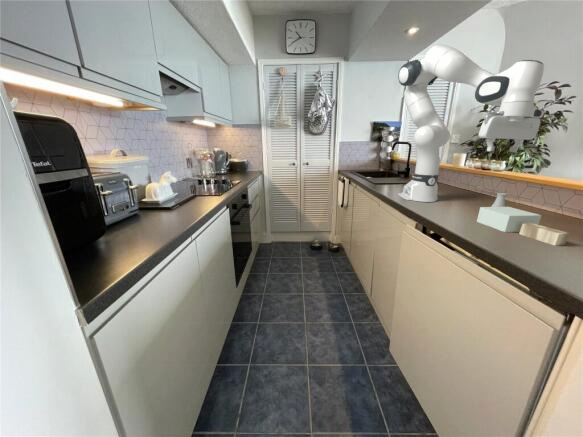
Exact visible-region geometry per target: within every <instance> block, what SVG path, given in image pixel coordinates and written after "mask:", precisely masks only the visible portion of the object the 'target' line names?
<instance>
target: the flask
mask: <svg viewBox="0 0 583 437" xmlns="http://www.w3.org/2000/svg"><path fill="white" fill-rule="evenodd" d="M496 195H497V196H496V198H495V200H494V202H493V204H491V206H490V207H506V205H505V203H506V196H507V195H508V193H506V192H505V193H504V192H497V193H496Z"/></svg>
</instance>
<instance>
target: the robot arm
mask: <svg viewBox="0 0 583 437" xmlns="http://www.w3.org/2000/svg"><path fill="white" fill-rule="evenodd" d="M544 69H545V64H544V63H543V62H541V61H540V60H533V59H524V60H518V61H517V62H515V63H514V64H512V65H511V66H510V67H508V68H507V69H505V70H503V71H501V72H499V73H496V74H494V73H492V72H490V71H488V70H486V69H484V68H482V67H481V66H480V65H478V64H477V63H476V62H474V61H473V60H472V59H470V58H469V57H468V56H467V55H466V54H465V53H464V52H462V51H460V50H459V49H457V48H454V47H452V46H449V45H446V44H435V45H433V46H432V47H430V48H429V49H428V50H427V52H426V53H425V56H424V57H422V58H420V59H414V60H411V61H407V62H405V64H402V66H400V68H399V71H398V76H397V79H398V82H399V84H400V85H401V86H403V87H406V88H405V89H404V93H403V97H404V102H405V105H406V109H407V111H408V114H409V115H410V119H411V121H412V123H413V125H414V126H416V127H417V130H416V131H415V132H414V134H413V141H414V143H415V148H416V149H415V150H416V162H415V168H414V170H415V171H414V173H412V174H411V177H412V178H411V180H410V181H409V182H408V183H406V184H404V186H403V187H402V192H399V193H397V196H399V197H401V198H402V199H404V200H407V201H414V202H423V203H424V202H425V203H434V202H437V200H438V201H439V197H438V190H439V189H438V188H439V186H438V184H437V182H438V180H439V170H440V165H441V157H440V147H443V146H444V145H446V144H447V143H448V142H449V141H450V138H451V133H450V130H449V129H448V128H447V127H446V124H445V122H444V121H443V120H442V118H441V117H440V116H439V114H438V111H437V110H436V108H435V106H434V104H433V101H432V98H431V97H430V94H429V93H428V92H429V91H428V86H432V85H433V84H434V82H435V81H436V80H438V79H441V80H443V81H446V82H449V83H457V84H465V85H470V86H472V87H474V88H475V91H474V97H475V98H474V99H475V100H476V102H477V103H480V104H483V105H488V106H493V107H498V108H499V109H498V111H494V110H491V111H490V112H488V113H487V114H485V117H484V120H483V122H482V124H481V126H480V129H479V131H478V135H477V136H478V138H480V139H486V140H485V143H486V146H487V148H486V152H495V148H496V146H494V142H495V141H496V139H498V140H499V139H503V140H514V144H513V145H512V146H510V147H509V153H517V151H518V150H519V148H520V146H521V145H523V143H524V141H525V140H527V141H528V140H529V141H530V140H531V141H532V140H533V139H534V138H535V137H536V136H537V135H538V132H539V129H540V125H541V119H540V118H542V117H543V116H544V113H545V112H544V111H543V110H542V109H540V108H538V107H536V106H534V104H535V95H536V93H537V92H538V90H539V89H540V86H541V81H542V79H543V75H544V71H545V70H544Z"/></svg>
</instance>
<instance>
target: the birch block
mask: <svg viewBox="0 0 583 437" xmlns="http://www.w3.org/2000/svg"><path fill="white" fill-rule="evenodd" d="M518 234H519V235H521V236H524V237H527V238H531V239H533V240H536V241H539V242H543V243H546V244H549V245H552V246H565V245H566V242H567V240H568V237H569V236H570V233H569V232H567V231H563V230H559V229H555V228H552V227H548V226H544V225H537V224H533V223H524V224H522V226H521V229H520V232H518Z"/></svg>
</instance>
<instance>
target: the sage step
mask: <svg viewBox="0 0 583 437" xmlns="http://www.w3.org/2000/svg"><path fill="white" fill-rule="evenodd" d="M541 219H542V215H541V214H538V213H534V212H530V211H526V210H522V209H519V208H515V207H510V206H505V207H491V206H480V207H479V212H478V216H477V219H476V223H479V224H482V225H485V226H487V227H489V228H493V229H495V230H498V231H501V232H503V233H519V232H520V229H521V226H522V224H524V223H533V224H537V225H539V223H540V222H541Z"/></svg>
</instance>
